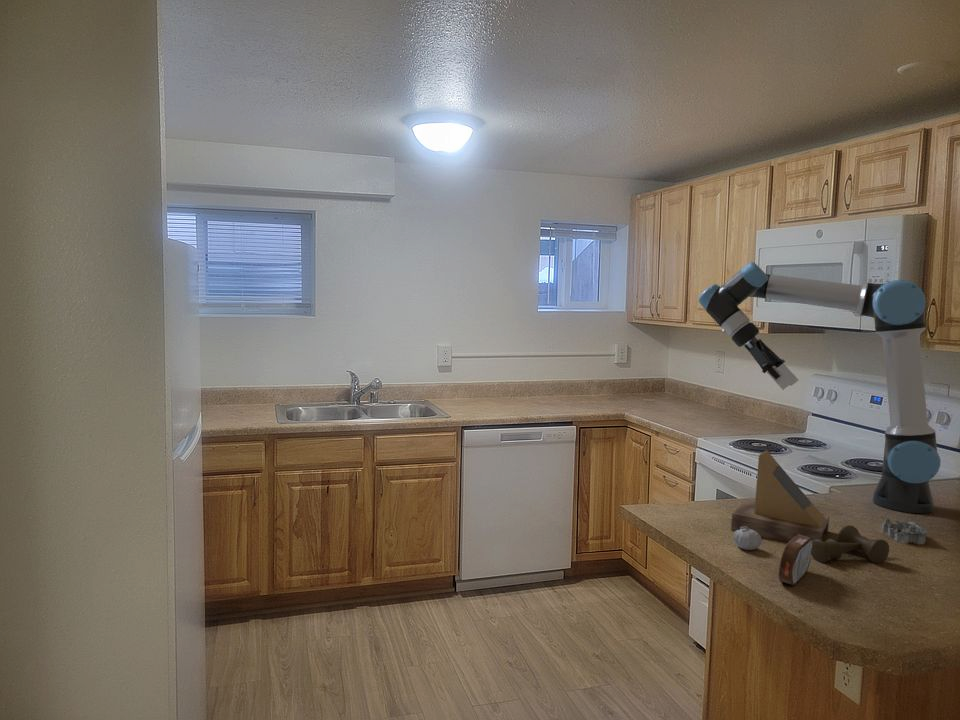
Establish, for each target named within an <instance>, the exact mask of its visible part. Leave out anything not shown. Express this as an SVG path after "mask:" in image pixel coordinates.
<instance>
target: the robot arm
mask: <svg viewBox="0 0 960 720" xmlns="http://www.w3.org/2000/svg"><path fill="white" fill-rule="evenodd" d="M924 293H925V292H924V291H923V290H922V289H921V287H919V285H917V284H915V283H913V282H912V281H910V280H904V279H895V280H892V281H891V280H890V281H888V282H885V283H872V282H866V283H863V284H861V285H860V284H852V283H851V284H850V283H843V282H836V281H829V280H818V279H811V278H803V277H795V276H794V277H793V276H784V275H778V274H777V275H776V274H769V273H765V271H764V270H763V269H762V268H761V267H760V266H759V265H757V264H756V262H754V261H750V262H748V263H747V264H746V265H745V266H743V267H741V268H740V270H739V271H737V272H736V273H735V274H734V275H733V276H732V277H731V278H729V280H727V281H726V282H725V283H724V284H722V285H720V286H719V285H718V284H716V283H715V284H712V285H710V286H709V287H708V288H705V290H704V291H702V293H701V294H700V295H699V297H698V302H699V304H700V305H701V306H702V308H703V309H704V310H705V312H706V313H707V314H709V317H711V319H713V320H714V321H715V323H717V325H718V326H719V327H720V328H721V332H722V333H723V334H724V333H726V334H727V336H729V337H731V341H733V343H734V344H736V346H737V347H738V348H741V347H743V346H744V348H745V349H746V350H747V351H748V352H749V354H750V355H751V356H752V357H753V359H754V360H755V362H757V364H758V366H759V367H760V369H761V372H762V373H763V374H766V373H767V374H768V375H769V377H770V378H771V379H773V381H774V382H775V383H776V384H777V385H778V386H779V388H780V389H781V390H782V391H784V390H785V389H786V388H787V387H789V386H794V385H795V384H796V383H797V382H798V381H799V379H798V377H796V375H795V374H794V373H793V372H792V371H791V369H790V368H789V367H787V366H786V364H785V363H786V361H785V359H782V358H780V357H779V356H778V355H777V354H776V353H775V352H774V351H773V350H772V349H771V348H770V347H768V346H767V344H765V343H764V342H763V340H762V338H758V339H757V337H756V336H758V334H759V333H760V330H759V328H758V327H757V326H756V325H755V324H754V323H753V322H752V321H751V319H750V318H749V317H748V315H747V314H745V313H744V312H743V311H742V309H741V308H739V305H741V304H742V303H743V302H744V301H745V300H747V299H748V298H759V299H765V300H766V299H767V300H773V301H781V302H786V303H787V302H788V303H796V304H802V305H808V306H809V305H811V306H817V307H824V308H829V309H830V308H832V309H837V310H843V311H844V310H845V311H852V312H853V311H854V312H856V313H858V316H863V317H864V316H865V317H870V318H873V321H874V328H875V331H874V332H875V334H876V335H878V336H879V337H880V338H881V339H882V347H883V357H884V358H883V359H884V367H885V377H886V379H885V380H886V389H887V390H886V391H887V398H888V399H887V400H888V401H887V402H888V413H889V423H890V426H888V427H887V428H886V430H885V431H884V437H885V438H884V439H885V440H884V452H883V460H882V461H883V462H882V469H881V470H882V471H881V477H880V479H879V481H878V482H877V484H876V486H875V489H874V491H873V494H872V500H873V501H872V502H873V504H876V505H878V506H880V507H883V508H887V509H889V510H892V511H893V510H895V511H897V512H905V513H909V514H910V513H912V514H913V513H914V514H929V513H932V512H934V507H935V502H934V498H933V493H932V491H931V487H930V480H931V479H934V477H935V476H936V475H937V474H938V473H939V470H940V467H941V457H940V455H939V452H938V446H937V435H936V430H935V428H933V427H932V426H931V425H929V423H928V412H927V411H928V410H927V402H926V401H927V399H926V389H925V381H924V380H925V379H924V369H923V368H924V367H923V357H922V346H921V345H922V344H921V334H922V333H924V331H925V330H926V329H927V327H926V316H925V315H926V314H925V309H926V304H927V303H926V302H927V301H926V296H925V294H924Z"/></svg>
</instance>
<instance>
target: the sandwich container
mask: <svg viewBox="0 0 960 720" xmlns="http://www.w3.org/2000/svg"><path fill="white" fill-rule="evenodd" d="M756 473H757V474H756V486H755V500H754V501H755V511H754V514H757V515H762V516H767V517H772V518H777V519H781V520H787V521H792V522H797V523H802V524H807V525H812V526H817V527H822V526H823V524H824V523H825V520H826V518H825V517H824V516H823V515H822V514H823V513H822V514H821V511H820V510H819V509H818V508H817V507H816V506H815V504H814V503H812V501H811V500H810V498H808V496H806V494H805V493H804V492H803V491H802V490H801V488H800V487H799V486H798V485H797V484H796V483H795V481H794V480H793V479H792V478H791V477H790V475H788V474H787V472H786V471H785V470H784V469H783V467H782V466H781V465H780V464H779V462H777V460H776V459H775V458H774V457H773V455H772V454H771V453H770V452H769V450H767V449H766V450H765V451H763V452H761V453H759V454H758V462H757V472H756Z"/></svg>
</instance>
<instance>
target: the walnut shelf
mask: <svg viewBox="0 0 960 720" xmlns="http://www.w3.org/2000/svg"><path fill="white" fill-rule="evenodd" d="M754 511H755V500H750V499H745V500H744V501H743V502H742V503H741V504H740V506H738V507H737V508H736V509H735V510H734V511H733V512H732V515H731V523H730V525H731V526H730V531H732V530H733V531H732V532H735V531H737V530H740V527H743V526H747V527H748V528H749V529H751V530H754V531H756V532H757V533H758V534H759V535H760V536H761V538H765V539H770V540H775V541H780V542H785V543H788V542H789V541H791V540H792V539H793V538H794V537H796V536H797V535H798V534H801V535H803V536H807V537H810V538H812V540H815V539H819V540H822V541H823V534H828V532H829V526H830V514H827V513H826V514H825V513H821V512H820V513H821V514H822V515H823V516H824V517H825V518H826V520H825V523H824V524H823V526H822V527H817V526H812V525H807V524H802V523H797V522H792V521H787V520H781V519H777V518H772V517H767V516H762V515H757V514H754Z"/></svg>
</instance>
